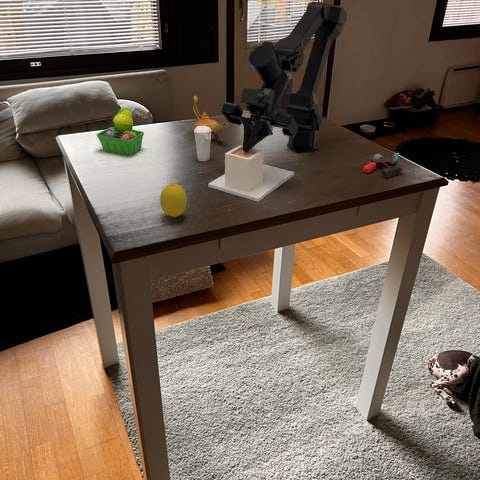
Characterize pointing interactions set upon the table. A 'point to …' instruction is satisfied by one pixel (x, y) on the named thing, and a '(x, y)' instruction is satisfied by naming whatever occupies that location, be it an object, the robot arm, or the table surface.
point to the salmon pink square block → (245, 153)
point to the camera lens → (285, 98)
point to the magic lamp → (207, 121)
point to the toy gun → (384, 166)
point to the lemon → (173, 200)
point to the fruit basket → (121, 135)
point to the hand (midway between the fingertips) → (244, 151)
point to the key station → (249, 175)
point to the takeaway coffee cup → (203, 142)
